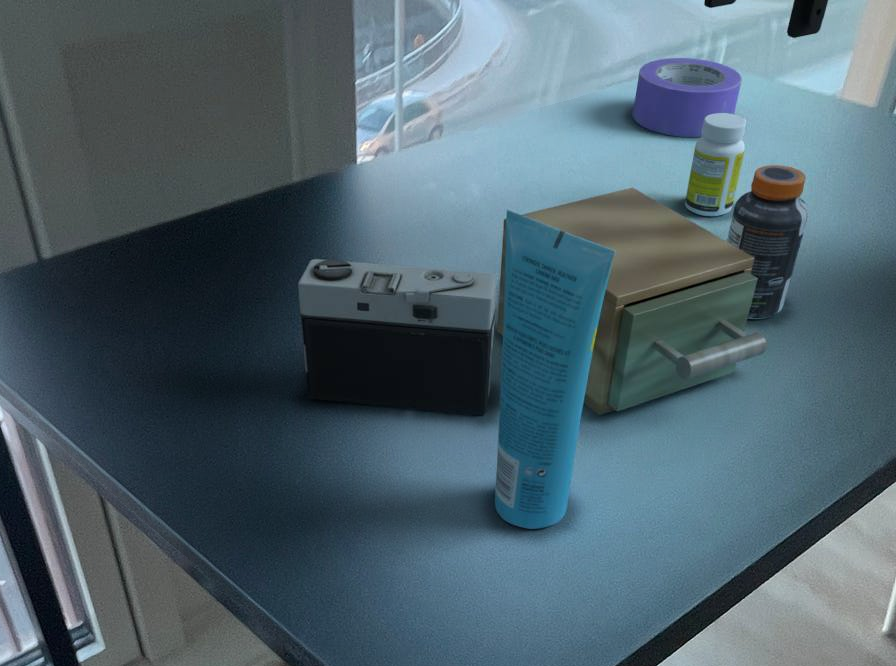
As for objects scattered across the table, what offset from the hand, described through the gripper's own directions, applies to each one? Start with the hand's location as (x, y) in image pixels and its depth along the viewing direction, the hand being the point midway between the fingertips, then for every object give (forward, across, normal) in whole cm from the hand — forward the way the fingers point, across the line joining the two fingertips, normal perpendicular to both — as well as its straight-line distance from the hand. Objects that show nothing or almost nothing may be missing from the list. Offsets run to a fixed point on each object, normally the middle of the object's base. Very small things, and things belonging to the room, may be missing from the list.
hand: (759, 19), depth 84 cm
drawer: (+18, -16, +22) cm, 32 cm away
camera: (+19, -7, +39) cm, 44 cm away
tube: (+19, -25, +39) cm, 50 cm away
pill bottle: (+19, -12, +6) cm, 23 cm away
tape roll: (+19, +26, -19) cm, 38 cm away
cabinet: (+19, -12, +22) cm, 31 cm away
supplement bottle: (+19, +6, -5) cm, 20 cm away
